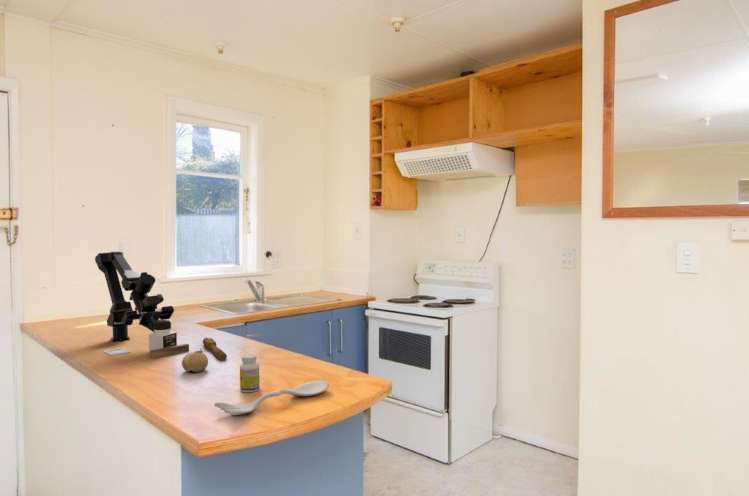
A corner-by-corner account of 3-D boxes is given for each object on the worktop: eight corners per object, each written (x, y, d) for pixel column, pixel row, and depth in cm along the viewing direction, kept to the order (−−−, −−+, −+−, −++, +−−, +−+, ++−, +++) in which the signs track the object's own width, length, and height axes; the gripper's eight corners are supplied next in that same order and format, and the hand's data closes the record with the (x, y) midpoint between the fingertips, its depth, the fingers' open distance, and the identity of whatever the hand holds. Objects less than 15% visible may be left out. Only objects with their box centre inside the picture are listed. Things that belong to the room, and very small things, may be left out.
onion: (192, 376, 156) (192, 353, 156) (176, 372, 161) (176, 350, 160) (213, 369, 163) (212, 348, 163) (197, 366, 167) (197, 345, 167)
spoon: (213, 415, 124) (213, 401, 123) (315, 386, 146) (315, 374, 146) (231, 425, 117) (231, 410, 117) (335, 393, 140) (335, 381, 139)
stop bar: (150, 357, 180) (150, 350, 179) (186, 349, 190) (185, 343, 190) (153, 358, 178) (152, 351, 178) (189, 350, 189) (188, 344, 189)
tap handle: (218, 353, 174) (201, 337, 200) (218, 362, 174) (201, 344, 200) (227, 352, 175) (209, 336, 201) (227, 361, 175) (209, 343, 201)
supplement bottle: (242, 387, 145) (241, 353, 144) (260, 386, 145) (260, 353, 145) (238, 393, 139) (238, 358, 139) (258, 392, 140) (257, 358, 139)
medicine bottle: (163, 354, 184) (162, 322, 183) (148, 353, 186) (147, 321, 186) (177, 350, 190) (176, 319, 190) (162, 348, 193) (162, 318, 192)
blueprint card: (102, 350, 190) (102, 350, 190) (122, 347, 194) (122, 347, 194) (110, 355, 182) (110, 354, 182) (130, 352, 187) (130, 351, 187)
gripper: (124, 290, 186) (139, 322, 179) (171, 285, 200) (186, 315, 194) (115, 309, 191) (129, 341, 185) (162, 303, 206) (176, 333, 199)
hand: (156, 332), depth 190 cm, fingers closed
